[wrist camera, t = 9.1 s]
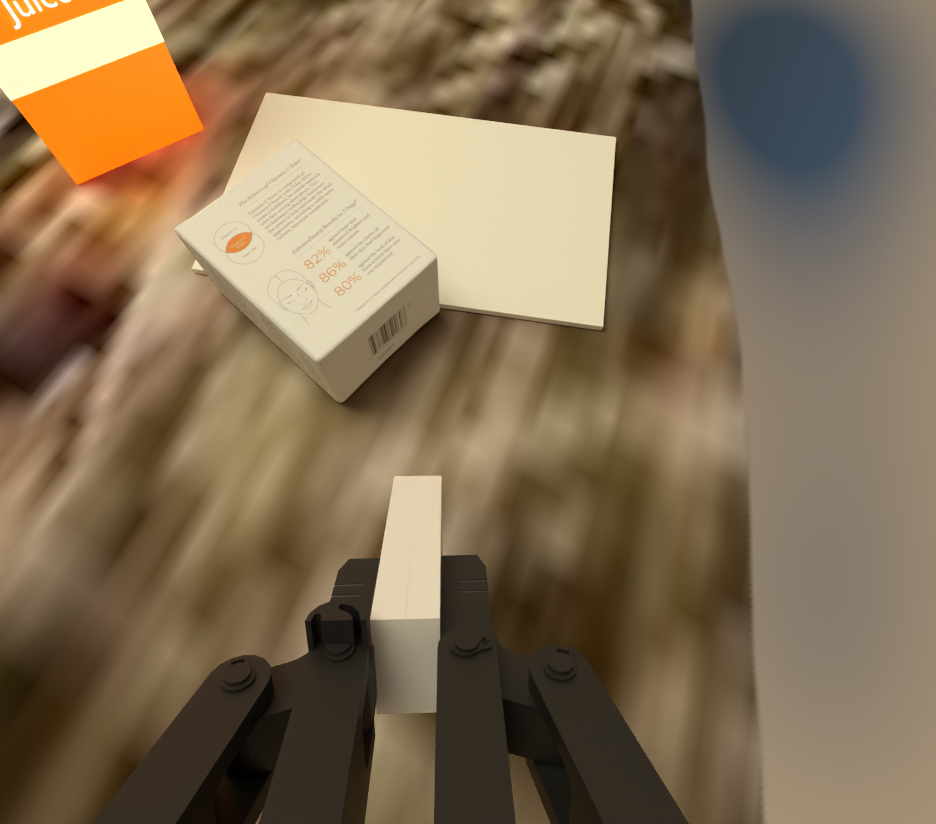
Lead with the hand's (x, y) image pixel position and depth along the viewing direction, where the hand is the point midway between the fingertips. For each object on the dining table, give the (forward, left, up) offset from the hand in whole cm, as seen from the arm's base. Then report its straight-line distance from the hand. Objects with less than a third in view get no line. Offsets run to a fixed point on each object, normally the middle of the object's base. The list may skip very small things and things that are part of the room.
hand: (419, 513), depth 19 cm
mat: (-5, +22, -10) cm, 24 cm away
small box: (-4, +10, -7) cm, 13 cm away
